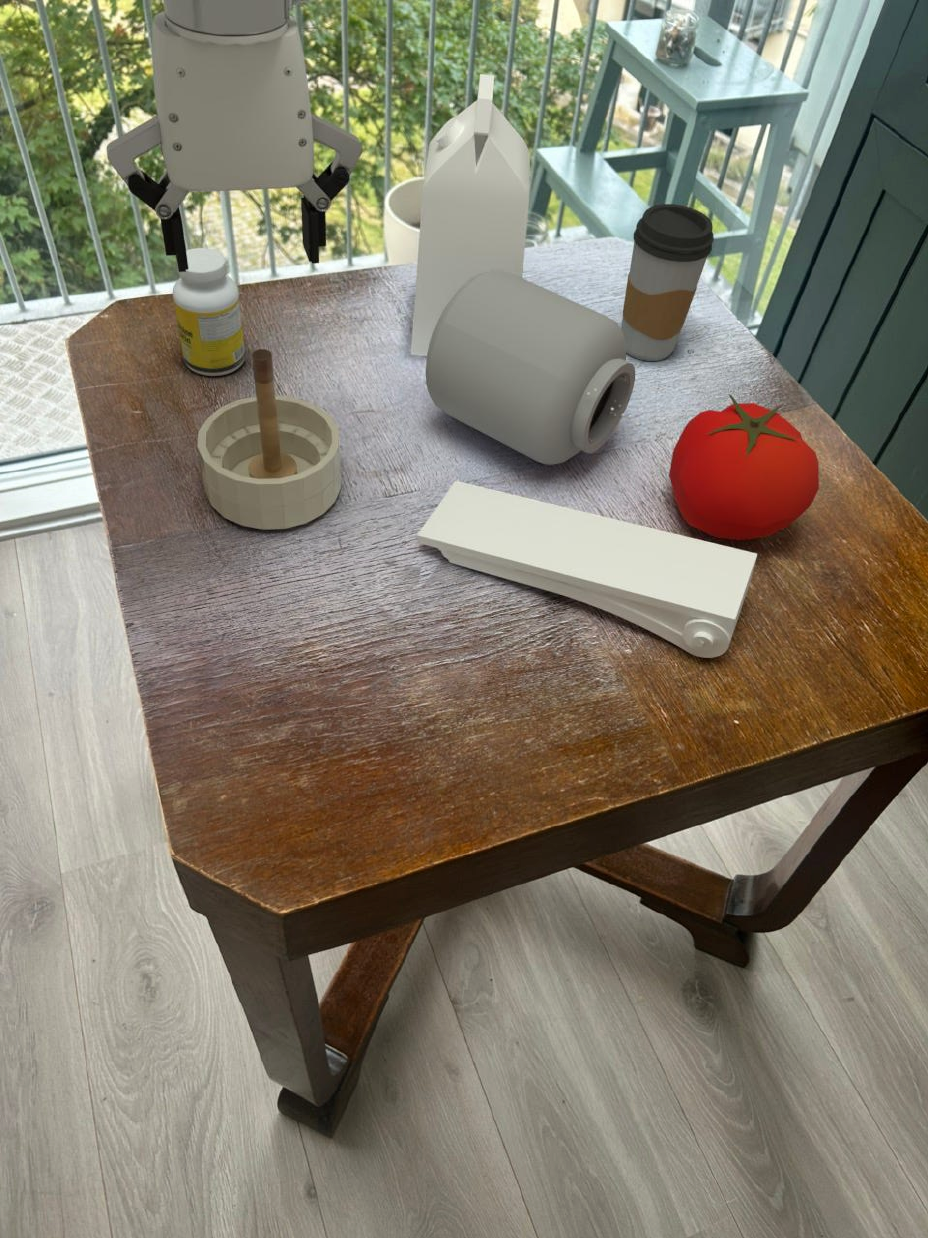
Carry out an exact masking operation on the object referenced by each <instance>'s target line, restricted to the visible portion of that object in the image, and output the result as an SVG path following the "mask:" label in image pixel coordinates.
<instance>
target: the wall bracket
mask: <svg viewBox="0 0 928 1238" xmlns="http://www.w3.org/2000/svg"><path fill="white" fill-rule="evenodd" d="M416 540H417V544H420V545H424V546H428V547H432V548H436V549H438V551H439V552H441V554H442V556H443V558H445V559H447V560H448V563H451V564H454V565H457V566H461V567H464V568H468V569H471V570H475V571H479V572H481V573H485V574H488V575H492V576H495V577H499V578H501V579H502V578H503V579H506V580H509V581H513V582H517V583H518V584H519V583H520V584H523V585H526V586H530V587H533V588H536V589H541V590H544V591H547V592H550V593H554V594H557V595H562V596H563V597H567V598H570V599H573V600H576V601H578V602H581V603H584V604H587V605H589V606H592V607H595V608H597V609H600V610H602V611H605V612H608V613H610V614H612V615H615V616H617V617H619V618H622V619H623V620H626V621H628V622H630V623H632V624H634V625H636V626H639V627H640V628H642V629H645V630H647V631H649V632H651V633H653V634H655V635H657V636H658V637H661V638H662V639H664V640H666V641H668V642H670V643H671V644H673V645H675V646H677V647H679V648H680V649H682V650H684V651H685V652H686V653H689V654H690V655H692V656H695V657H699V658H704V659H712V658H717V657H720V656H722V655H724V654H725V653H726V651H727V650H728V649H729V647H730V644H731V641H732V638H733V634H734V632H735V629H736V627H737V623H738V620H739V617H740V614H741V611H742V608H743V605H744V601H745V600H746V596H747V594H748V590H749V589H750V585H751V582H752V580H753V579H752V578H753V573H754V570H755V569H754V568H755V565H756V561H757V557H758V553H757V552H752V551H747V550H744V549H740V548H736V547H731V546H727V545H723V544H719V543H715V542H710V541H706V540H702V539H698V538H694V537H690V536H686V535H682V534H679V533H674V532H669V531H665V530H662V529H657V528H652V527H648V526H644V525H640V524H636V523H632V522H628V521H624V520H619V519H616V518H612V517H608V516H602V515H598V514H595V513H591V512H588V511H587V512H586V511H583V510H578V509H575V508H570V507H566V506H563V505H562V506H561V505H558V504H553V503H549V502H545V501H541V500H537V499H533V498H530V497H525V496H521V495H517V494H513V493H508V492H504V491H500V490H496V489H492V488H487V487H483V486H479V485H475V484H471V483H466V482H462V481H459V480H455V481H454V482H453V484H452V485H451V486H450V487H449V489H448V490H447V492H446V493H445V495H444V496H443V497H442V499H441V501H439V503H438V505H437V506H436V508H435V509H434V510H433V512H432V513H431V515H430V516H429V517H428V519H427V520H426V521H425V523H424V525H423V526H422V528H421V529H420V530H419V531H418V532H417V535H416Z"/></svg>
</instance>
